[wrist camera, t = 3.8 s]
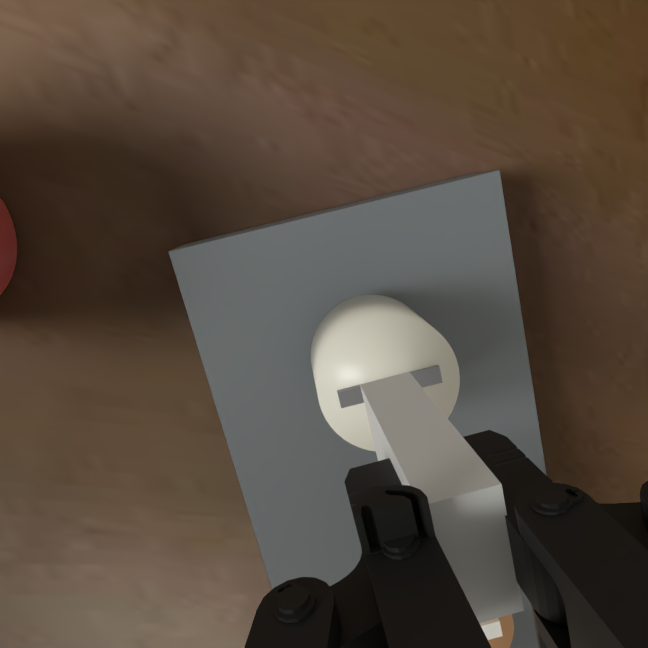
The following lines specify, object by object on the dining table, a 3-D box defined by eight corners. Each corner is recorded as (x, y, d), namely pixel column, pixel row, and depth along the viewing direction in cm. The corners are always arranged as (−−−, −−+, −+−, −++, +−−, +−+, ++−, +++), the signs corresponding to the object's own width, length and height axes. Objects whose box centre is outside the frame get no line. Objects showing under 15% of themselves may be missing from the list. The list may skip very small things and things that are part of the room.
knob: (319, 392, 27) (335, 469, 19) (295, 295, 26) (301, 336, 18) (417, 366, 27) (473, 434, 19) (396, 270, 26) (447, 299, 18)
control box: (321, 700, 32) (327, 769, 29) (184, 244, 26) (168, 251, 22) (545, 640, 33) (581, 699, 29) (467, 174, 26) (499, 170, 22)
